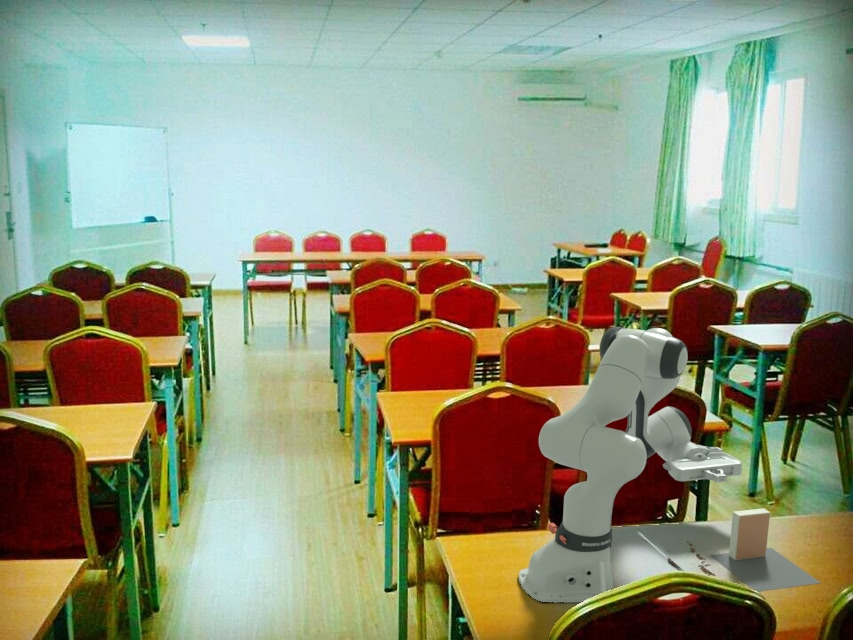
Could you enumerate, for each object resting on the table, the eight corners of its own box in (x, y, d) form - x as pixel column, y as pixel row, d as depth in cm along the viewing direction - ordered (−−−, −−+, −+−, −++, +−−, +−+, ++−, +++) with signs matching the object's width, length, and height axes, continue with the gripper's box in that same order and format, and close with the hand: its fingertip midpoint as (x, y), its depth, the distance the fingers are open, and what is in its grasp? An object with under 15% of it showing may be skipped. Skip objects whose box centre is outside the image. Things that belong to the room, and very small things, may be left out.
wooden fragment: (727, 586, 187) (727, 581, 186) (680, 585, 187) (680, 580, 187) (693, 536, 212) (693, 532, 212) (652, 535, 212) (652, 532, 212)
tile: (735, 560, 197) (739, 516, 195) (728, 555, 200) (733, 511, 197) (766, 556, 199) (770, 512, 197) (759, 551, 202) (763, 508, 200)
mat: (755, 593, 183) (755, 591, 183) (710, 556, 200) (710, 555, 200) (820, 584, 187) (821, 582, 187) (770, 549, 204) (771, 547, 204)
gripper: (660, 453, 219) (688, 471, 206) (724, 446, 224) (755, 464, 211) (658, 474, 220) (686, 494, 207) (722, 467, 225) (753, 486, 212)
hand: (722, 479), depth 209 cm, fingers closed
